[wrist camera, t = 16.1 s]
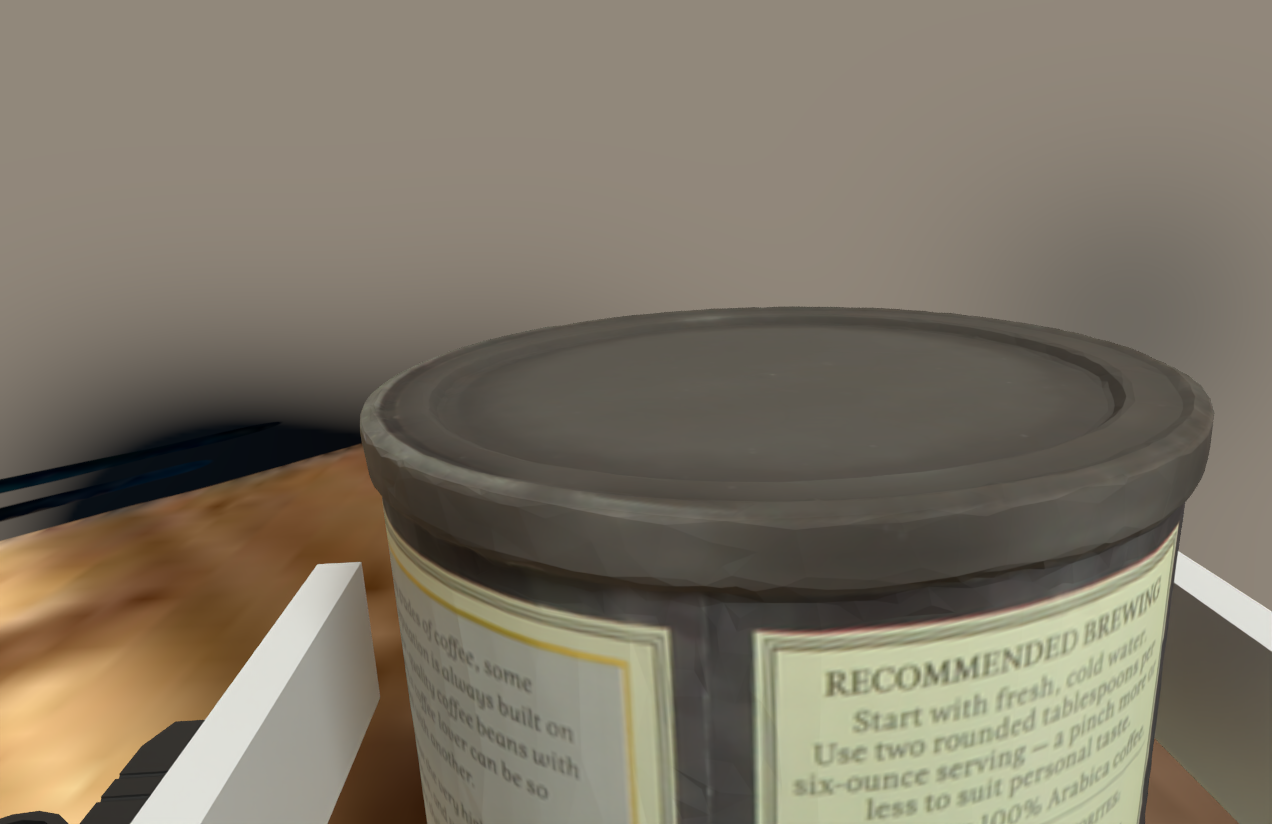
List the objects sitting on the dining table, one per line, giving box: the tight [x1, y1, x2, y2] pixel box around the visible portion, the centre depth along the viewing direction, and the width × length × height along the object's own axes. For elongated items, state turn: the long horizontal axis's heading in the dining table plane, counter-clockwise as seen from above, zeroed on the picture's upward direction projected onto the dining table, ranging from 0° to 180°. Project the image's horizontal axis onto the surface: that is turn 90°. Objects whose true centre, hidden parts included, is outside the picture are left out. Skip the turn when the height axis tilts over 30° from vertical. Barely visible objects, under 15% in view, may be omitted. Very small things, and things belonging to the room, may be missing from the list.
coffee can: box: [360, 307, 1214, 824], centre depth 13 cm, size 10×10×14 cm
